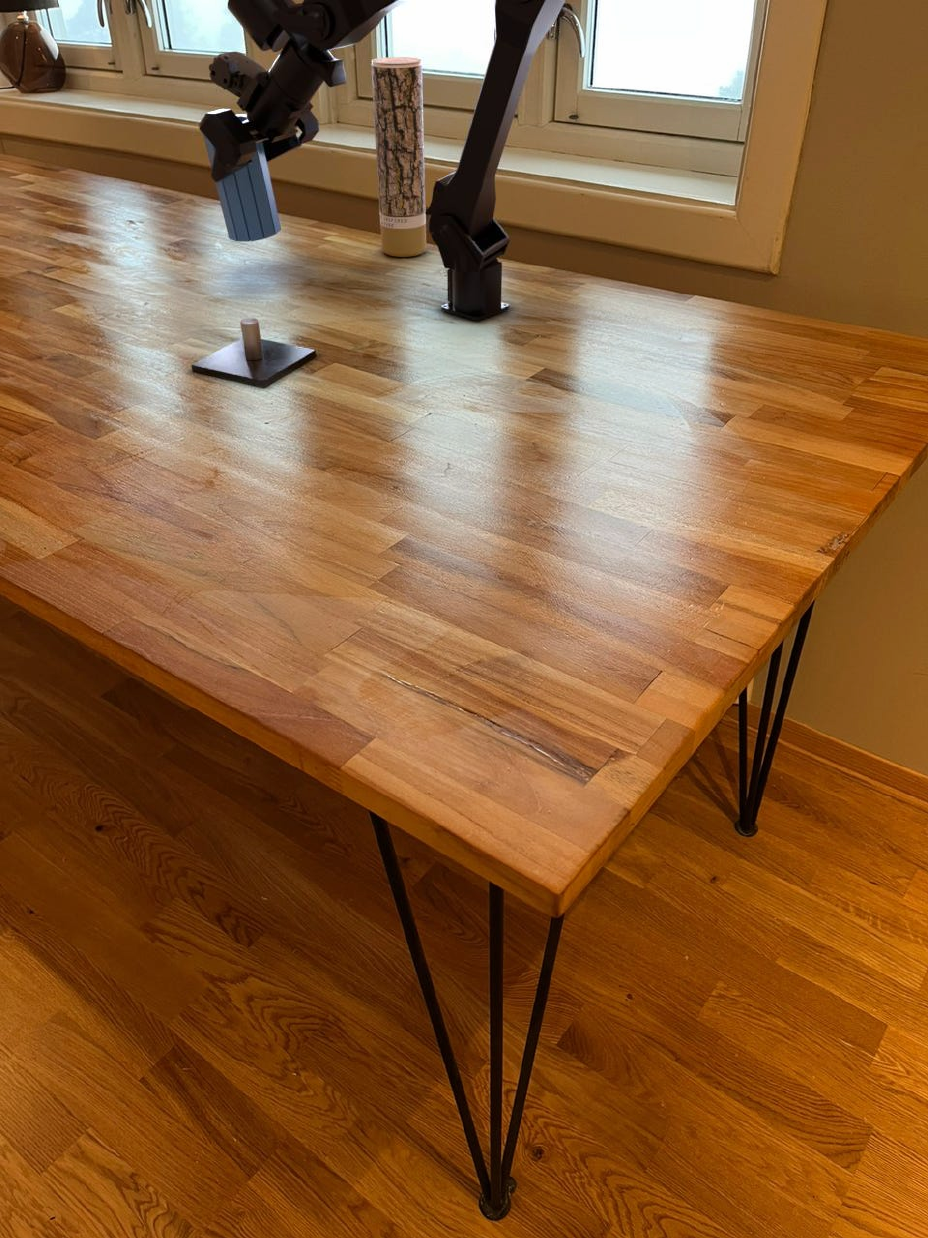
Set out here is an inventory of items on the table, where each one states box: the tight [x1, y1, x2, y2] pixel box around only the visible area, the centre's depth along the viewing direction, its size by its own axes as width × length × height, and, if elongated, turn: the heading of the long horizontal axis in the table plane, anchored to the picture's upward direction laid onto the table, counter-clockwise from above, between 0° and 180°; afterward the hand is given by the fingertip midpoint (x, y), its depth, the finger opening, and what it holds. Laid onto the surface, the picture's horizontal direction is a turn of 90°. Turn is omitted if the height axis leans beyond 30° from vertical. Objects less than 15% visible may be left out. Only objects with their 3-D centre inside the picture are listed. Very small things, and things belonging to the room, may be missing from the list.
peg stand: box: [190, 317, 317, 389], centre depth 105 cm, size 10×10×5 cm
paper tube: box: [371, 56, 427, 258], centre depth 133 cm, size 7×7×25 cm
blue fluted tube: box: [202, 113, 282, 243], centre depth 124 cm, size 7×7×14 cm
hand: (232, 173), depth 124 cm, fingers closed on blue fluted tube, 7 cm apart
